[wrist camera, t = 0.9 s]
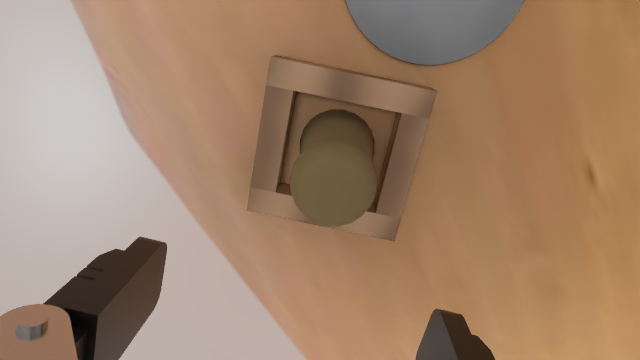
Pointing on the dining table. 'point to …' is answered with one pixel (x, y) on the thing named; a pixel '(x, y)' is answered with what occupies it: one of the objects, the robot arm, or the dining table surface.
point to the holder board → (349, 87)
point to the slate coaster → (432, 26)
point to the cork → (334, 169)
